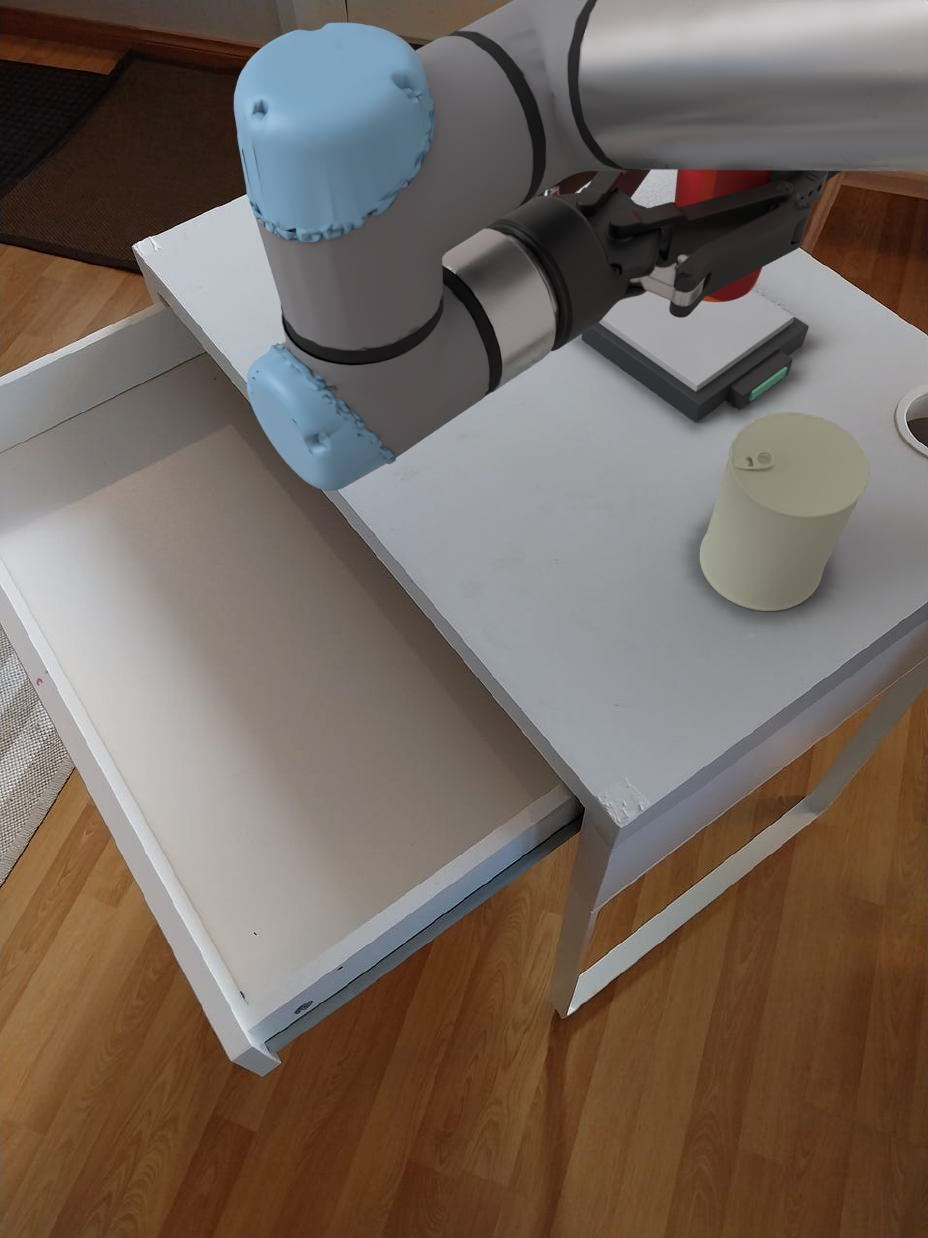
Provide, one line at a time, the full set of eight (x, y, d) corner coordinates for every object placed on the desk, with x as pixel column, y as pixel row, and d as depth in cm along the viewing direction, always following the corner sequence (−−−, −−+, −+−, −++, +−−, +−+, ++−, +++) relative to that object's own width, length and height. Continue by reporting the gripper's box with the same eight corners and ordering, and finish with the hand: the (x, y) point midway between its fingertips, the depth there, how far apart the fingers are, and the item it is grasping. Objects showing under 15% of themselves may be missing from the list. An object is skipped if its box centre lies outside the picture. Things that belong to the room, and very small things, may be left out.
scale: (818, 355, 83) (828, 328, 81) (711, 434, 79) (718, 409, 76) (686, 270, 90) (691, 243, 88) (581, 339, 86) (583, 313, 83)
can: (690, 516, 75) (719, 409, 64) (807, 511, 74) (854, 402, 64) (709, 614, 70) (743, 515, 60) (834, 609, 70) (889, 508, 59)
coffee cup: (794, 257, 64) (864, 22, 51) (745, 329, 60) (808, 97, 48) (681, 220, 66) (721, -12, 54) (628, 288, 63) (657, 57, 50)
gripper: (407, 264, 58) (663, 114, 65) (642, 442, 50) (907, 248, 57) (394, 149, 52) (680, -3, 59) (662, 330, 43) (957, 128, 50)
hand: (791, 120), depth 58 cm, fingers closed on coffee cup, 7 cm apart
